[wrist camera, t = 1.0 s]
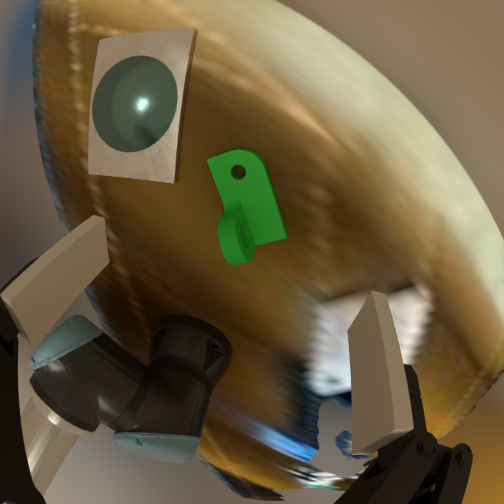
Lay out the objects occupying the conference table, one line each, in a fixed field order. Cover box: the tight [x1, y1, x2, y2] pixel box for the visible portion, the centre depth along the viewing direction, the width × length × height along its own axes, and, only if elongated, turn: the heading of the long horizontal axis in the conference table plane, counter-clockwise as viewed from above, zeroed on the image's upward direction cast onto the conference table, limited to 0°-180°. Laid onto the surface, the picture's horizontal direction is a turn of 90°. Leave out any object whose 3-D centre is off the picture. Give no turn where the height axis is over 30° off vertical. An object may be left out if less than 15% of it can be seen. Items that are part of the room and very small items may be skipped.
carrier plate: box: [88, 28, 197, 183], centre depth 28 cm, size 20×14×1 cm
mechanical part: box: [207, 148, 287, 266], centre depth 30 cm, size 12×6×8 cm, turn 19°
